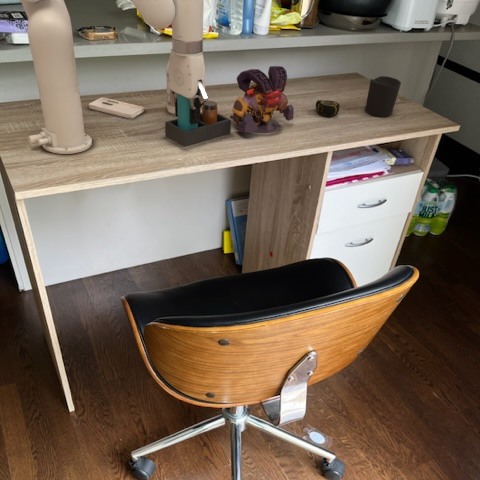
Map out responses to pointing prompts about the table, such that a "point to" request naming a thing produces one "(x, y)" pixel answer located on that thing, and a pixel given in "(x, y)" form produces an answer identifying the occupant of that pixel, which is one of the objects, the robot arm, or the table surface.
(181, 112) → the water bottle
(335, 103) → the tape measure
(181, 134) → the cup holder
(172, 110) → the bath foam
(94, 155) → the table surface
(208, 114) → the spice jar
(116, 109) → the phone case
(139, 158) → the table surface
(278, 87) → the figurine
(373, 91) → the pen holder
